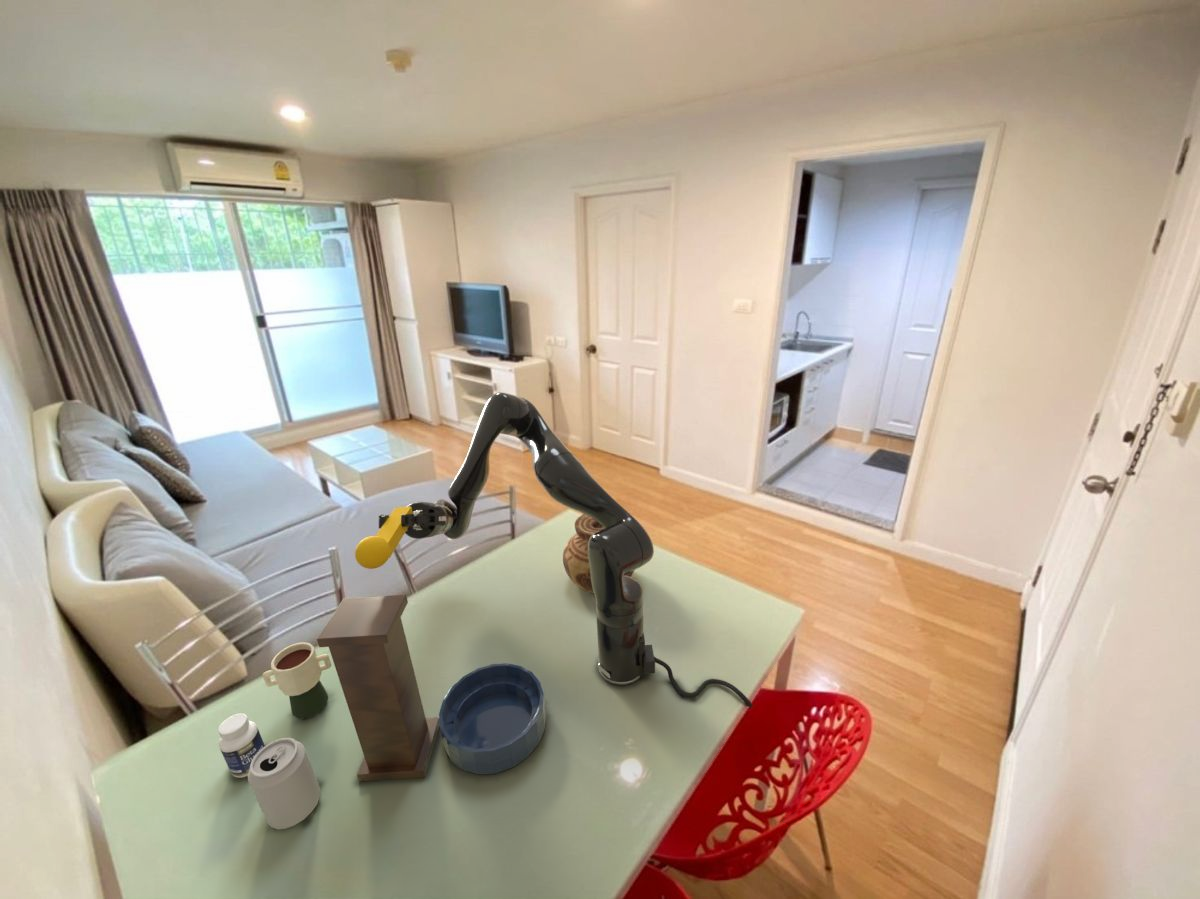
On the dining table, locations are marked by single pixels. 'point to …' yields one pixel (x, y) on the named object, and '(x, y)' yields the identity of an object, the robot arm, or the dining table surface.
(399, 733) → the stand
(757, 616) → the dining table surface
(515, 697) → the bowl
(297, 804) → the can
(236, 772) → the pill bottle
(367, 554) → the yellow lever
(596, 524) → the clay pot
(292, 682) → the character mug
